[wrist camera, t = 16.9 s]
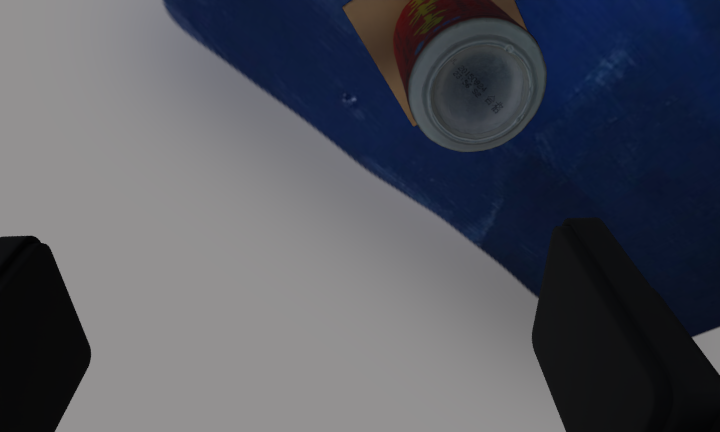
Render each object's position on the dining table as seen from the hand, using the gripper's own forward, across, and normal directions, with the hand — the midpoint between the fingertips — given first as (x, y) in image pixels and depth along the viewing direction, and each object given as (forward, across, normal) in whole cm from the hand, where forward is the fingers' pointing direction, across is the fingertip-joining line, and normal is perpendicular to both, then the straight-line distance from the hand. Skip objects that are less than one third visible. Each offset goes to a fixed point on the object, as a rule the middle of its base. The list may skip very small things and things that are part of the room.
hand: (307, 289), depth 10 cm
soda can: (+30, -7, +3) cm, 31 cm away
